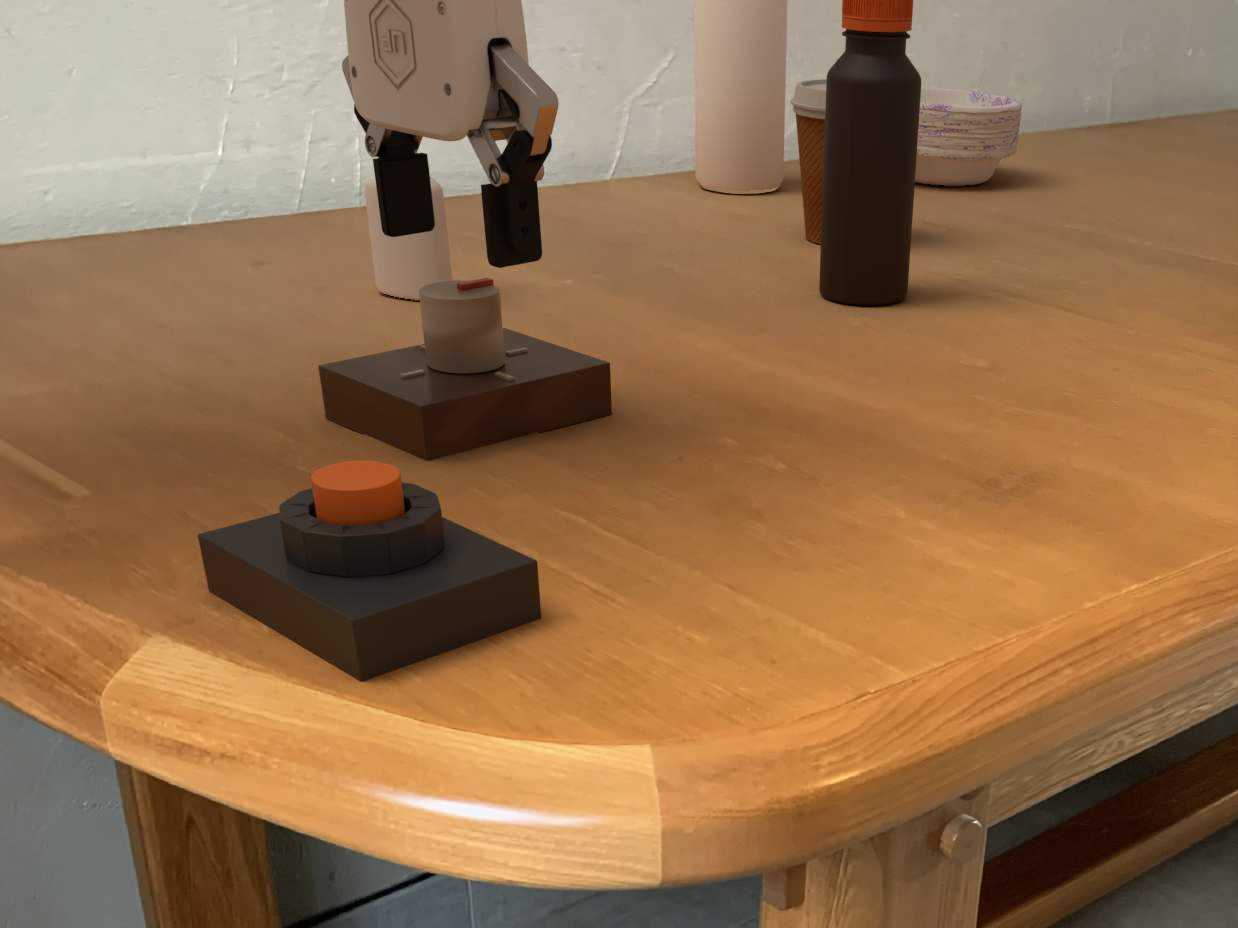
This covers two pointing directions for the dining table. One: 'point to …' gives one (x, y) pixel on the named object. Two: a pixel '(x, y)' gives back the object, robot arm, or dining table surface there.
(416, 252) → the eye dropper bottle
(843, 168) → the dark brown water bottle
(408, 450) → the dial panel
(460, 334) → the dial
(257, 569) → the button base
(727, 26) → the pale pink cylinder
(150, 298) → the dining table surface
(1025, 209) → the dining table surface
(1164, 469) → the dining table surface
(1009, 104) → the paper bowls
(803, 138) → the disposable coffee cup
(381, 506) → the button
